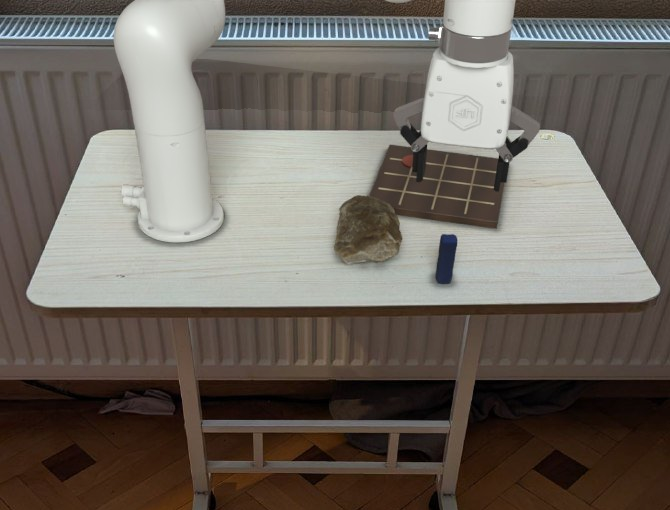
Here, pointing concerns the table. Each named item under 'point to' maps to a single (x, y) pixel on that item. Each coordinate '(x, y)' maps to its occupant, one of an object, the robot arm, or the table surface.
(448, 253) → the eraser
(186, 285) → the table surface
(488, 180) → the board
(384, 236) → the stone
